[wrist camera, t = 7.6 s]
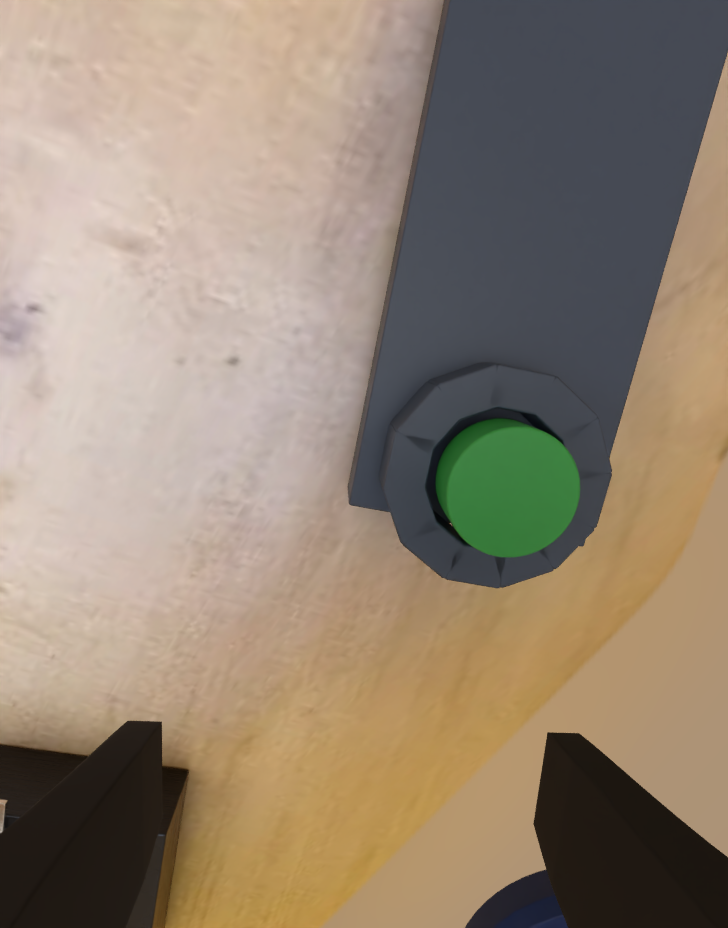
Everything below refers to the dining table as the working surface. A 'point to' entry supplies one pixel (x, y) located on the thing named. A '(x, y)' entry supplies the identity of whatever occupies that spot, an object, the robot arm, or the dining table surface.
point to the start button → (507, 487)
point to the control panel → (37, 772)
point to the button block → (532, 247)
